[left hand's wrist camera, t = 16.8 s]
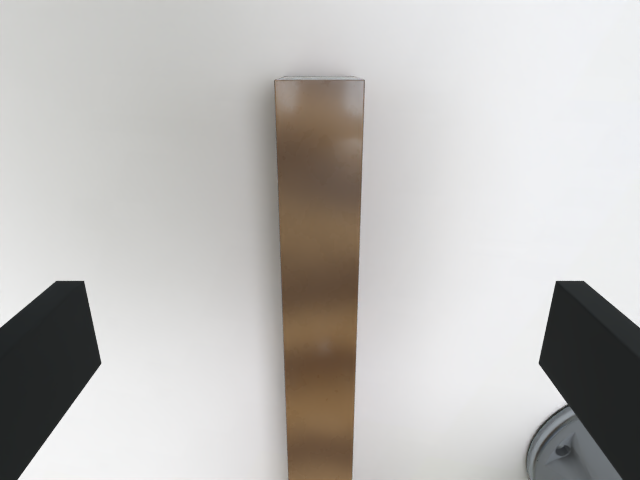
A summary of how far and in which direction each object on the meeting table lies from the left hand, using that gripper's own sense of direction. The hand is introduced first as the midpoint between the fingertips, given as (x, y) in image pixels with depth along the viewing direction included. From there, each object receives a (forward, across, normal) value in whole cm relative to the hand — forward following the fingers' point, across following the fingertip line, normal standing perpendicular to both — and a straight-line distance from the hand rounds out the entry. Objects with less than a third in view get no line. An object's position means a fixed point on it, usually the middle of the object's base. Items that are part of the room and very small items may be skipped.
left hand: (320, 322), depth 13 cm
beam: (+24, 0, -22) cm, 33 cm away
